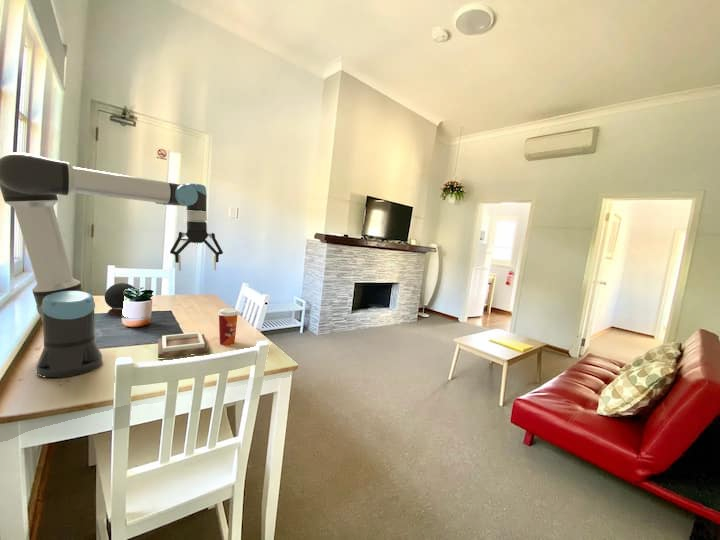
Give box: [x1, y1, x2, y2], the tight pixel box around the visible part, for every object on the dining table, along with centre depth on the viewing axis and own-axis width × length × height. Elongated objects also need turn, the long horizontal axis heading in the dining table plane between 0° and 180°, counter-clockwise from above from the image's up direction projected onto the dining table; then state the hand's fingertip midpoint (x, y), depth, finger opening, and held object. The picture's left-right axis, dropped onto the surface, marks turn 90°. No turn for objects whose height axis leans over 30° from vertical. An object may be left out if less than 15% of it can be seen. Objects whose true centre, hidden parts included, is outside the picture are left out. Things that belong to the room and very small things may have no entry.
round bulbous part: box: [104, 282, 136, 317], centre depth 152 cm, size 13×13×15 cm
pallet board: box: [157, 331, 210, 359], centre depth 118 cm, size 16×16×4 cm
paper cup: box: [217, 307, 239, 346], centre depth 126 cm, size 8×8×14 cm
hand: (197, 270), depth 135 cm, fingers open, 13 cm apart
